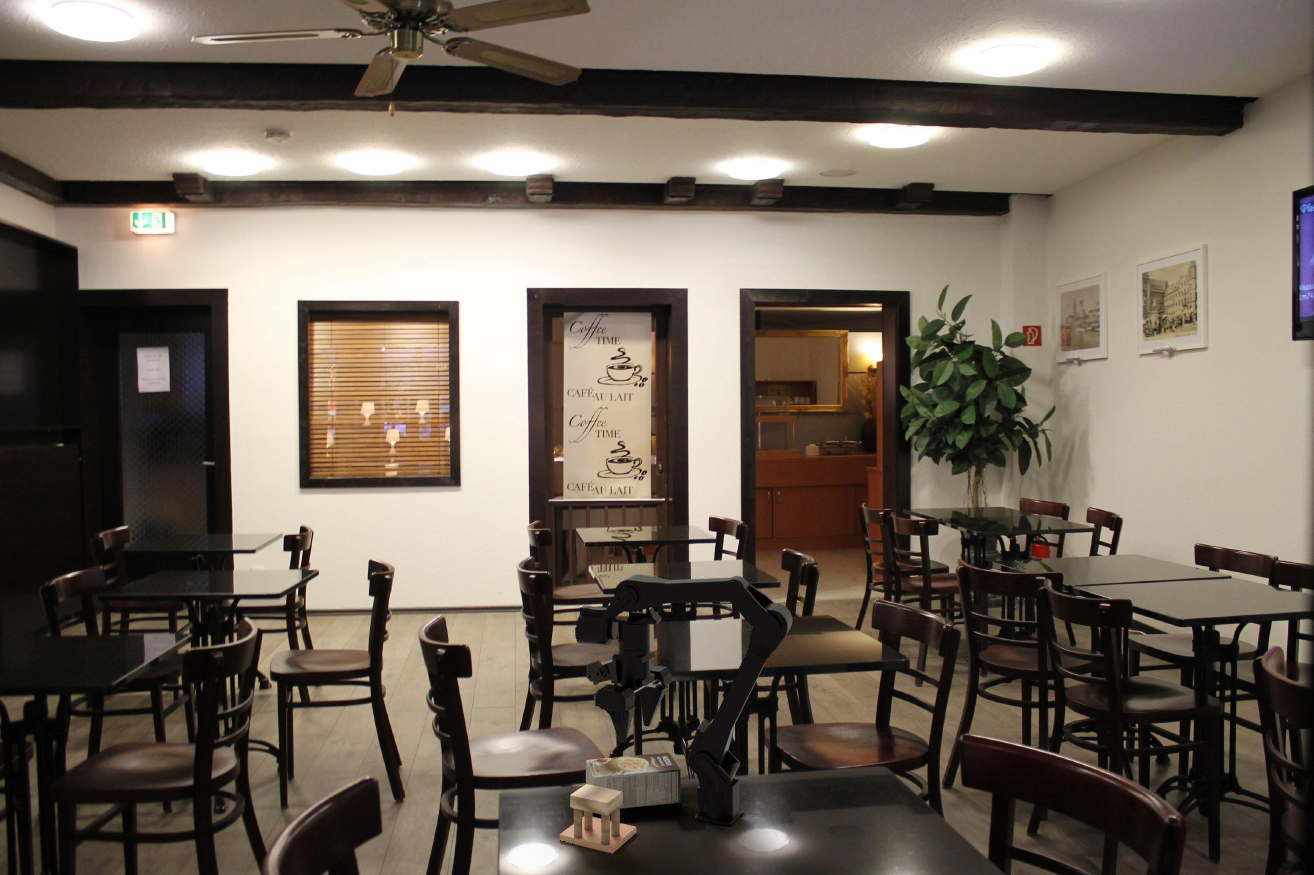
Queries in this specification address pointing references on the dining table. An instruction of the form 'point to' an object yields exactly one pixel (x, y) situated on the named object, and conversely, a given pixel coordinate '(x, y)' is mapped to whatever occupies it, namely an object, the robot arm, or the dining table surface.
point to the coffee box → (638, 778)
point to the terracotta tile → (598, 836)
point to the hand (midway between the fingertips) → (634, 734)
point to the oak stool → (597, 810)
